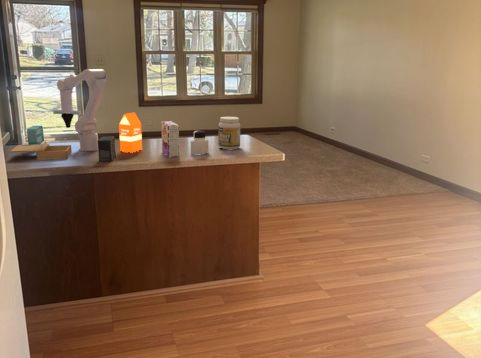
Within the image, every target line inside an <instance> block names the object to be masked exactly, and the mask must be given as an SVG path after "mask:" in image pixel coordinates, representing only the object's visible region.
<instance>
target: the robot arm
mask: <svg viewBox="0 0 481 358" xmlns="http://www.w3.org/2000/svg"><path fill="white" fill-rule="evenodd" d="M107 80H108V76H107V72H106V71H105V70H104V69H103V68H99V69H98V68H96V69H95V68H93V69H90V68H89V69H88V68H86V69H83V70H82V71H81V72H80V73H79V74H77V75H76V74H73V73H72V74H70V75H69V76H68V77H64V79H62V78H61V79H58V80H57V83H56V87H57V89H58V90H59V96H60V109H54V110H52V112H53V114H54V115H56V114H57V115H60V117H61V119H62V120H63V122H64V124H65V128H66V129H68V128H69V129H70V128H71V124H72V120H73V118H74V116H76V115H78V116H80V115H82V110H75V109H73V96H72V94H73V90H74V88H75V87H78V86H79V85H80V84H81V82H83V81H85V82H86V85H87V86H88V88H89V89H91V92H90V95H89V98H88V101H87V104H86V107H85V109H84V111H83V115H82V116H80V117H79V118H78V119H77V121H76V122H75V124H74V129H75V131H76V132H77V134H78V138H79V149H78V151H79V152H85V151H87V152H90V151H91V152H92V151H95V152H96V151H98V140H99V135H98V133H97V132H95V131H96V130H97V123H98V120H97V118H96V114H97V112H98V108H99V106H100V103H101V101H102V98H103V95H104V92H105V85H106V83H107Z"/></svg>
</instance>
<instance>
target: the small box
mask: <svg viewBox="0 0 481 358" xmlns="http://www.w3.org/2000/svg"><path fill="white" fill-rule="evenodd" d="M97 151H98V163H99V162H100V163H101V162H102V163H103V162H109V163H110V162H111V161H112V162H113V161H114V160H115V158H116V157H117V154H116V141H115V136H110V135H109V136H101V137H100V138H98V150H97Z"/></svg>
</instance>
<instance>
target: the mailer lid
mask: <svg viewBox="0 0 481 358" xmlns="http://www.w3.org/2000/svg"><path fill="white" fill-rule="evenodd" d="M48 146H50V144H49V143H48V144H47V140H44V141H43V142H42V143H41V144H40V145H28V144H18V145H17V146H15V147H14V148H12V149H11V150H10V153H36V152H43V151H44V150H45V149H46V148H47V147H48Z"/></svg>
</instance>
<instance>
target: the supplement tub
mask: <svg viewBox="0 0 481 358" xmlns="http://www.w3.org/2000/svg"><path fill="white" fill-rule="evenodd" d="M219 121H220V122H219V123H218V135H217V136H218V142H217V144H218V145H217V146H218V148H219V147H220V148H223V149H222V150H224V149H235V150H238V149H240V148H239V147H241V123H240V118H239V117H238V116H221V117H220V118H219ZM237 148H238V149H237Z"/></svg>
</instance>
